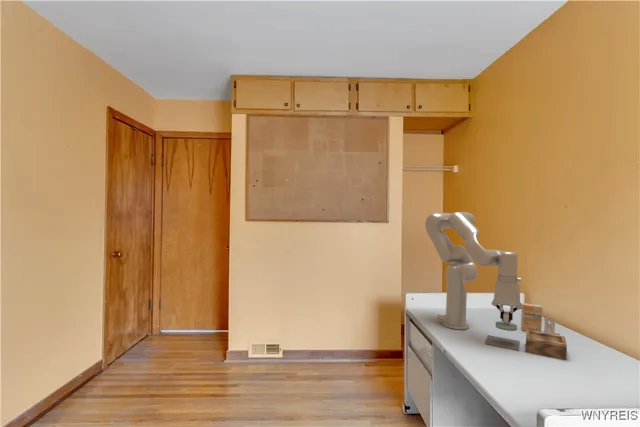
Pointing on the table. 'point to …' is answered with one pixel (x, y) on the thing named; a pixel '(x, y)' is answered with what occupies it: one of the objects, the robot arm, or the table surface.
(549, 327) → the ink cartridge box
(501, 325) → the cover
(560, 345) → the tray
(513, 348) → the mat
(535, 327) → the supplement box
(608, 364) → the table surface
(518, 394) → the table surface
